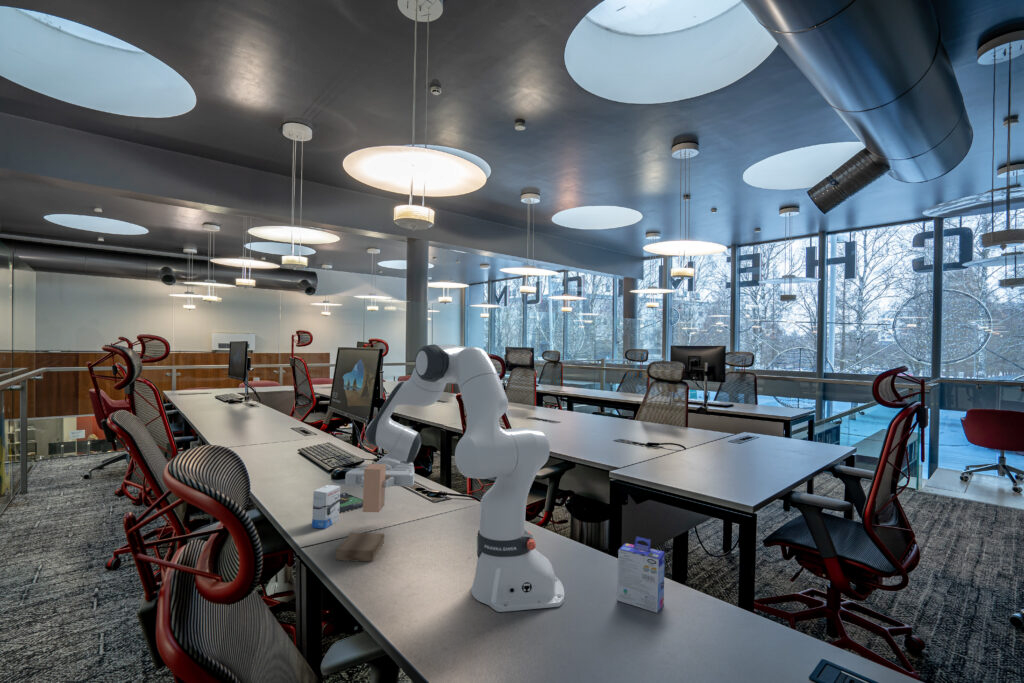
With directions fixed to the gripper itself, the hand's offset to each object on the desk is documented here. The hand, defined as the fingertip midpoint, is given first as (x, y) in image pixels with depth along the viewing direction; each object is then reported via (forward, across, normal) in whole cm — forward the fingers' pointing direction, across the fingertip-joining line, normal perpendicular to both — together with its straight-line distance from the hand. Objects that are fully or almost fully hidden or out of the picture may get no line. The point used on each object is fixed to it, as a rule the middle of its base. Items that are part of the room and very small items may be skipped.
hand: (374, 484), depth 134 cm
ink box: (-21, -21, +20) cm, 36 cm away
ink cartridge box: (+25, +70, +19) cm, 77 cm away
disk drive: (-40, -22, +20) cm, 50 cm away
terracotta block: (-1, 0, +7) cm, 7 cm away
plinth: (0, -3, +19) cm, 19 cm away
